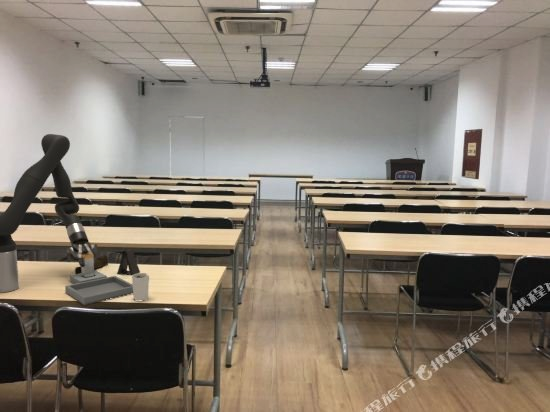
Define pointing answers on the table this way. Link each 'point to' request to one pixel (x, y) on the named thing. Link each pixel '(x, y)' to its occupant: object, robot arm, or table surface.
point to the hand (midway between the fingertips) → (88, 265)
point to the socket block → (79, 278)
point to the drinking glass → (140, 286)
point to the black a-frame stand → (128, 263)
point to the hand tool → (99, 262)
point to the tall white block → (87, 265)
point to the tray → (99, 289)
